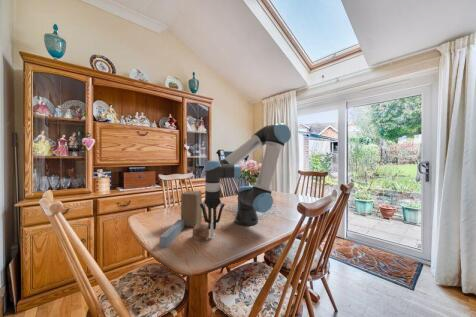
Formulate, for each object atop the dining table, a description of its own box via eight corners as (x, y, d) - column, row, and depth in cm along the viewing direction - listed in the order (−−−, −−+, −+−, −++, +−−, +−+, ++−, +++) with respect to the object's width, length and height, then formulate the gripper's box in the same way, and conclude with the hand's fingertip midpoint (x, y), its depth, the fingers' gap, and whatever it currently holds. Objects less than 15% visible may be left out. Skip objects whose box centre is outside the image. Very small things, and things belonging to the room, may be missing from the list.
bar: (184, 228, 118) (184, 219, 118) (167, 247, 94) (167, 236, 94) (178, 228, 119) (178, 219, 118) (159, 247, 95) (159, 236, 94)
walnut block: (209, 235, 109) (209, 224, 108) (206, 241, 102) (206, 229, 101) (196, 235, 109) (196, 224, 109) (192, 240, 102) (192, 229, 102)
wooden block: (195, 227, 119) (195, 194, 119) (180, 226, 121) (180, 193, 121) (202, 222, 129) (202, 191, 128) (187, 220, 131) (187, 190, 130)
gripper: (225, 189, 108) (225, 233, 108) (201, 188, 108) (201, 232, 109) (224, 192, 100) (223, 238, 101) (198, 191, 101) (198, 237, 102)
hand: (212, 235), depth 105 cm, fingers closed
